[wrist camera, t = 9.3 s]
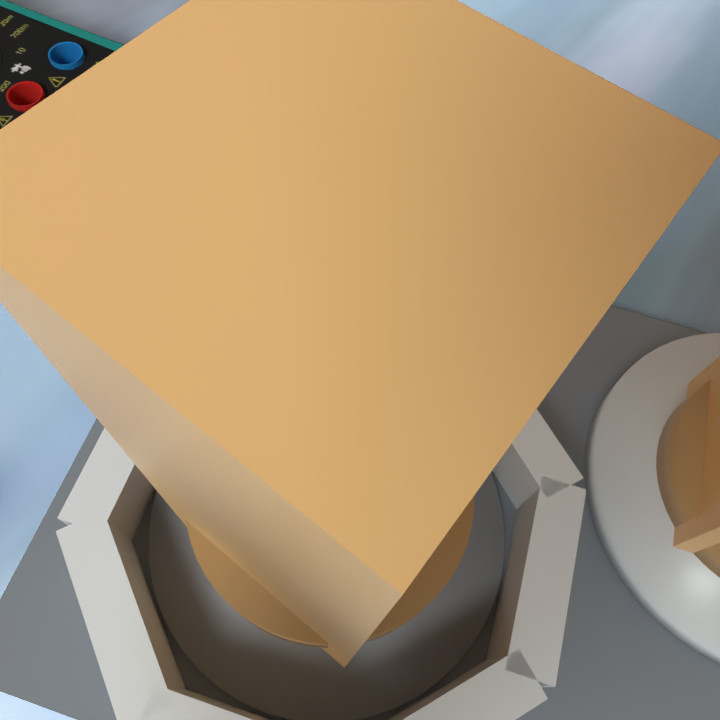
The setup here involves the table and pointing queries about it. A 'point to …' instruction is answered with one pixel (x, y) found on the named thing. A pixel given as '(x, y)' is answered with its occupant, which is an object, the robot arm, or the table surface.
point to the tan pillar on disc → (328, 276)
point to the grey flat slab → (455, 601)
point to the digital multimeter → (41, 57)
